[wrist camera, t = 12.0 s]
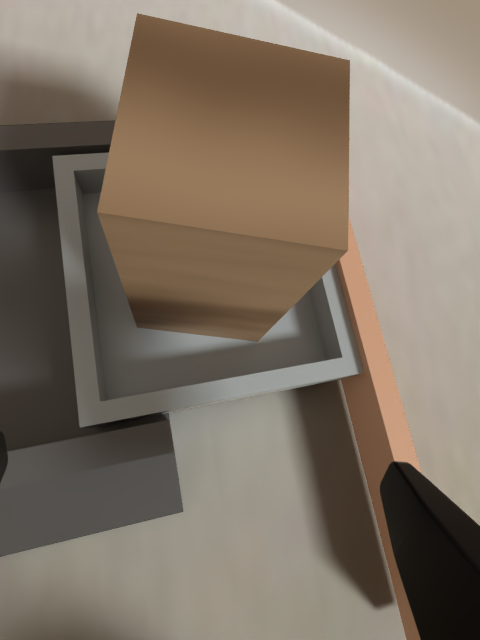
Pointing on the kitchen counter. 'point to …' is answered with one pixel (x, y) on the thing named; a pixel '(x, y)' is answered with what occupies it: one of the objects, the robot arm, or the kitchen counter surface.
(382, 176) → the kitchen counter surface
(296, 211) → the walnut block
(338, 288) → the tray
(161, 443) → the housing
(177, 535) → the kitchen counter surface
